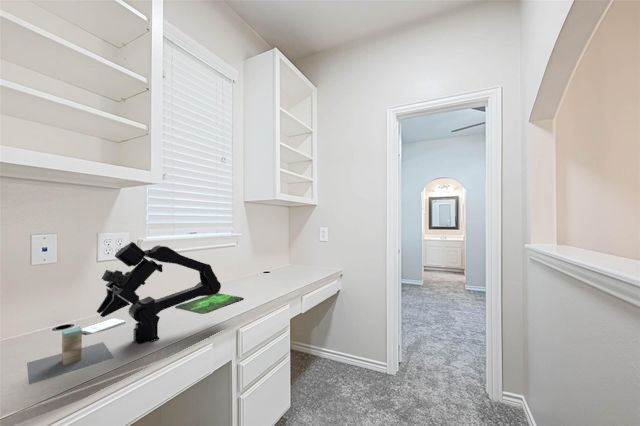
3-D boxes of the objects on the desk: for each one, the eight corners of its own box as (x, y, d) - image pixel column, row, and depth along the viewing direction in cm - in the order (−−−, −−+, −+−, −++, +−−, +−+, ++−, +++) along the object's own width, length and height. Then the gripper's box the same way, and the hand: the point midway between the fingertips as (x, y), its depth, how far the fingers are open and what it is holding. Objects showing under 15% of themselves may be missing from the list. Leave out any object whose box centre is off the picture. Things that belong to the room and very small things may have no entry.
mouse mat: (203, 315, 124) (203, 313, 124) (172, 308, 133) (172, 306, 133) (245, 299, 148) (245, 297, 148) (216, 294, 158) (216, 292, 158)
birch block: (79, 355, 86) (79, 326, 86) (81, 359, 83) (81, 330, 83) (61, 360, 83) (62, 330, 83) (63, 365, 80) (63, 334, 80)
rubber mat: (103, 343, 95) (103, 342, 95) (114, 359, 84) (114, 357, 84) (27, 364, 81) (27, 362, 81) (29, 386, 71) (29, 384, 71)
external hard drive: (125, 324, 114) (91, 336, 102) (112, 322, 116) (78, 333, 105) (125, 320, 114) (91, 332, 102) (112, 318, 116) (78, 329, 105)
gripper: (113, 258, 99) (72, 295, 90) (127, 263, 86) (81, 307, 78) (138, 276, 104) (101, 312, 96) (155, 284, 92) (115, 326, 83)
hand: (99, 314), depth 88 cm, fingers open, 5 cm apart
